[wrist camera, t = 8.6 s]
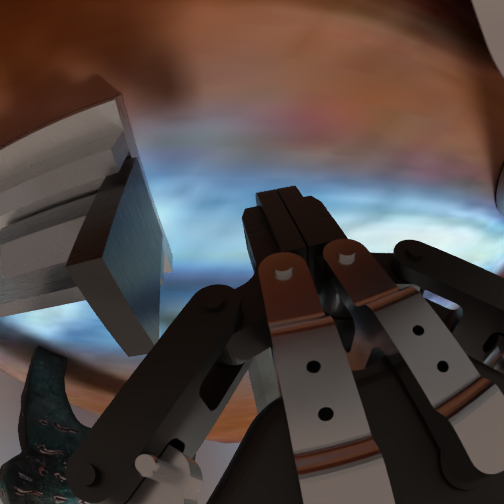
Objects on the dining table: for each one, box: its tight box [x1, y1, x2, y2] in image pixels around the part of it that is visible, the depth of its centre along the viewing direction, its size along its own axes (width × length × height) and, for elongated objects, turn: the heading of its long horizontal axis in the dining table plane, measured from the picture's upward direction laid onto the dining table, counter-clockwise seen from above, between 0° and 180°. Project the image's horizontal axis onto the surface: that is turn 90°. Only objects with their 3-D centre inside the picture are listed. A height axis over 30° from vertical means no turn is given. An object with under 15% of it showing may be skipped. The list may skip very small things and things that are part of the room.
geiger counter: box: [248, 348, 279, 414], centre depth 28 cm, size 14×6×25 cm
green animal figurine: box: [0, 346, 196, 504], centre depth 19 cm, size 20×6×20 cm, turn 44°
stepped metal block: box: [0, 157, 163, 357], centre depth 11 cm, size 9×4×7 cm, turn 97°
